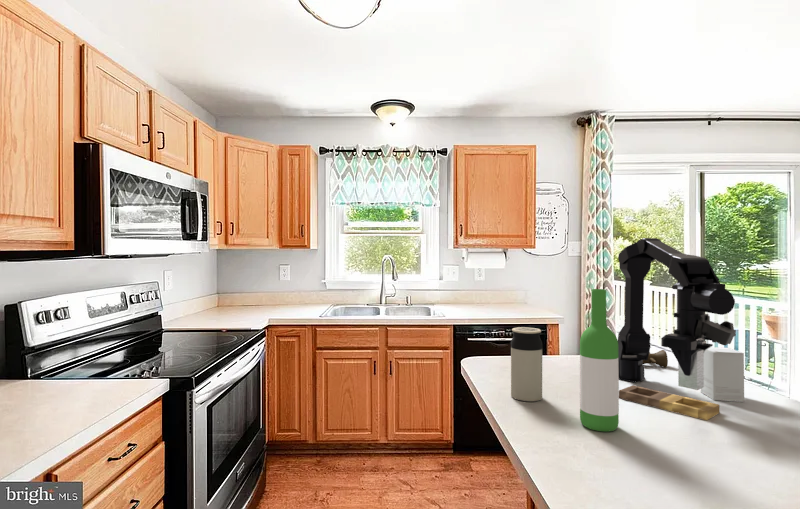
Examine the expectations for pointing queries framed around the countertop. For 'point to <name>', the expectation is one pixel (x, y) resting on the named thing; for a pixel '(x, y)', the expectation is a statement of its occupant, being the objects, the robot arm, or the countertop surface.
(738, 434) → the countertop surface
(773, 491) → the countertop surface
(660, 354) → the kendama
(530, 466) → the countertop surface
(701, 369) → the peg
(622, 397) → the wooden slotted board
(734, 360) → the supplement box
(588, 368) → the wine bottle
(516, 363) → the travel mug
